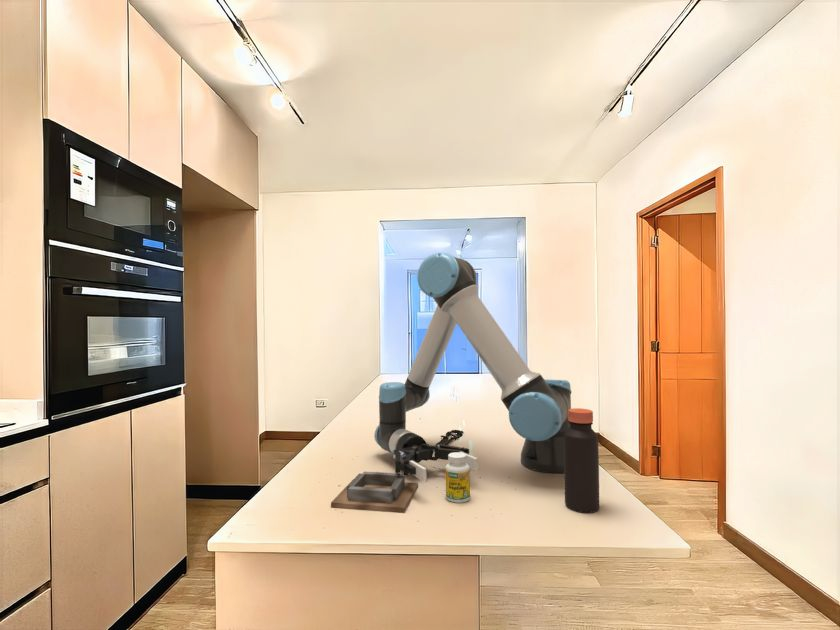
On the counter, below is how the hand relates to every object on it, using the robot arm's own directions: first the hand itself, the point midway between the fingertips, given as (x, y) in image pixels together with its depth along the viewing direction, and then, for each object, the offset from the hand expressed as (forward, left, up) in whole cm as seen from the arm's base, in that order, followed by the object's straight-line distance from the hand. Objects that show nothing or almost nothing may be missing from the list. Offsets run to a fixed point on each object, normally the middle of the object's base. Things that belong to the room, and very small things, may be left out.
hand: (451, 469), depth 98 cm
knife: (+6, -44, -7) cm, 45 cm away
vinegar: (-27, +1, -6) cm, 28 cm away
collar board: (+17, +3, -6) cm, 18 cm away
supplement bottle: (-1, +1, -6) cm, 6 cm away
